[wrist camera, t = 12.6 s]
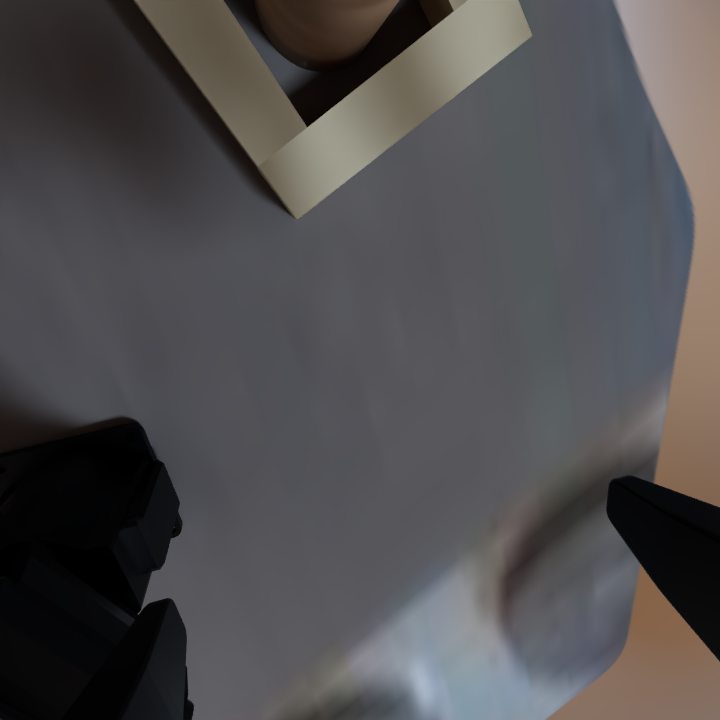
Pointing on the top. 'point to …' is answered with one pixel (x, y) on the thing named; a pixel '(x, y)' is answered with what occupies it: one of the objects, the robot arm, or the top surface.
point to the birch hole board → (352, 114)
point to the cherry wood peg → (321, 29)
